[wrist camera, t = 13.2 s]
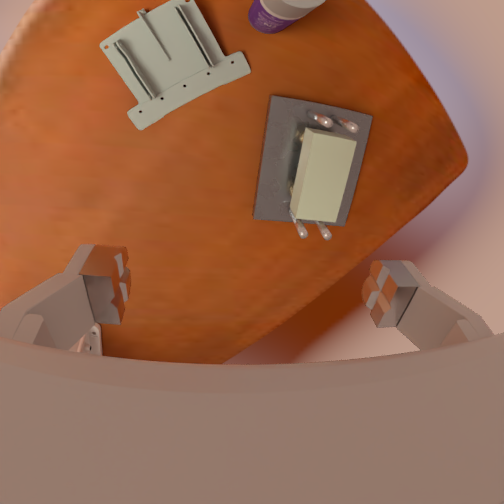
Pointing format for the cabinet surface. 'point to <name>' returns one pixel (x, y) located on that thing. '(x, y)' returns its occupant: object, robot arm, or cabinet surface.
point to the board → (321, 175)
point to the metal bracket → (169, 60)
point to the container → (278, 13)
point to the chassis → (288, 154)
